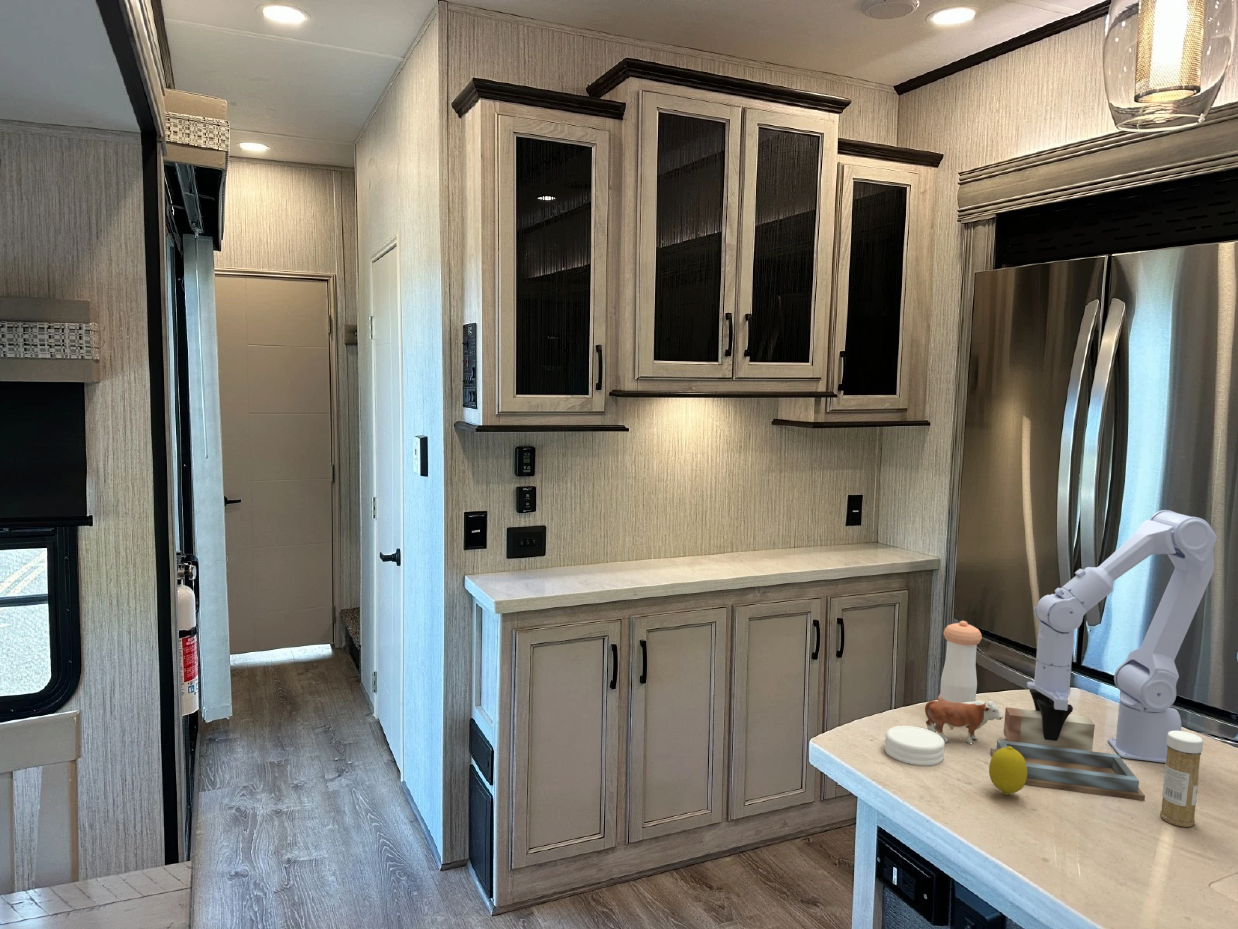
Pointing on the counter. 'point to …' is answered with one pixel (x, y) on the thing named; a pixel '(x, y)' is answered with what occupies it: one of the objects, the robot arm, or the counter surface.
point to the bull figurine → (960, 716)
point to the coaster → (914, 745)
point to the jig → (1076, 770)
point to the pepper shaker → (960, 663)
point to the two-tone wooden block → (1030, 730)
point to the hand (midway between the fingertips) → (1047, 734)
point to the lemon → (1008, 770)
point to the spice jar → (1181, 778)
